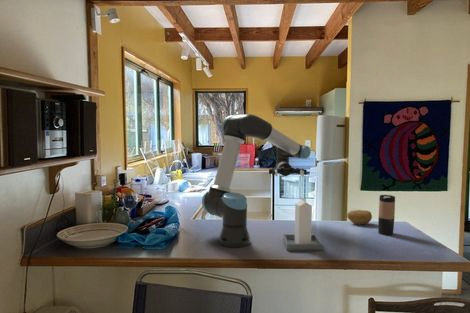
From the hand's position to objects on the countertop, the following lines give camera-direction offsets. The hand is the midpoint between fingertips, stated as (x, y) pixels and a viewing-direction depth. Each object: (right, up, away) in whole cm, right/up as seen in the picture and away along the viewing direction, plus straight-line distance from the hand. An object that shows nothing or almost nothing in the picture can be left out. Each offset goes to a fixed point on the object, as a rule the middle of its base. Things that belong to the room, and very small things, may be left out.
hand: (289, 173), depth 165 cm
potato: (+44, -31, +23) cm, 59 cm away
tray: (+3, -33, -13) cm, 36 cm away
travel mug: (+52, -32, +6) cm, 61 cm away
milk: (+4, -33, -13) cm, 35 cm away
